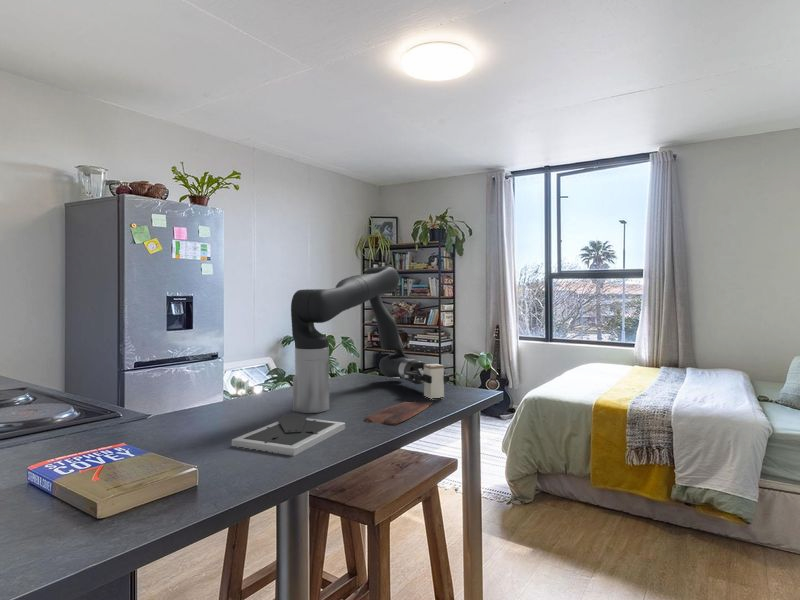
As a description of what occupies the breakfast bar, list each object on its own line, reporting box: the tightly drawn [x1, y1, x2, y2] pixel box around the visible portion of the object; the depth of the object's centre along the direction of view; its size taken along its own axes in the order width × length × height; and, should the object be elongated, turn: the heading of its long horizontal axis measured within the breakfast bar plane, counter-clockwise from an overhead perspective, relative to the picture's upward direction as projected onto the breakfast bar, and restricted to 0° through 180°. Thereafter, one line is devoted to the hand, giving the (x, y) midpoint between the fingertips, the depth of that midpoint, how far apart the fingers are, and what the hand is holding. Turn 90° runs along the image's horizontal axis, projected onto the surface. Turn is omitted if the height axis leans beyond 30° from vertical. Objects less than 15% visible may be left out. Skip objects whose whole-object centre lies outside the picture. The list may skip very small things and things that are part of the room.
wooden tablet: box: [364, 400, 433, 426], centre depth 132 cm, size 26×2×10 cm
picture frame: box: [231, 413, 346, 457], centre depth 109 cm, size 16×3×21 cm
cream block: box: [423, 363, 445, 400], centre depth 149 cm, size 5×5×10 cm
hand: (438, 379), depth 147 cm, fingers closed on cream block, 4 cm apart
